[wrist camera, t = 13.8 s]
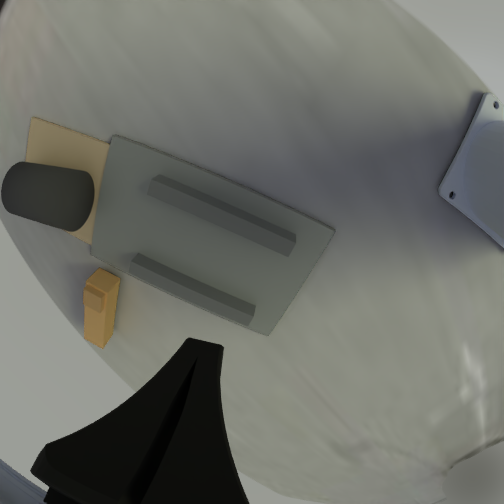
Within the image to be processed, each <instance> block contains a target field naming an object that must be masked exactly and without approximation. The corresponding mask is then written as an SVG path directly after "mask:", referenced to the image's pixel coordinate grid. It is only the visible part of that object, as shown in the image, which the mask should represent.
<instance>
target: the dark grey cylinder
mask: <svg viewBox="0 0 504 504" xmlns="http://www.w3.org/2000/svg"><path fill="white" fill-rule="evenodd" d="M94 195H95V189H94V182H93V179H92V177H91V175H90V174H89V173H88V172H86V171H82V170H76V169H70V168H64V167H57V166H51V165H44V164H37V163H30V162H19V163H16V164H15V165H13V166H12V167H11V168H10V169H9V171H8V172H7V174H6V176H5V178H4V180H3V184H2V190H1V197H2V202H3V205H4V207H5V209H6V210H7V211H8V212H9V213H11V214H15V215H18V216H21V217H24V218H27V219H30V220H33V221H37V222H40V223H43V224H46V225H49V226H53V227H56V228H59V229H63V230H66V231H69V232H74V231H77V230H79V229H80V228H81V227H82V226H83V225H84V224H85V222H86V221H87V219H88V217H89V215H90V213H91V210H92V207H93V202H94Z"/></svg>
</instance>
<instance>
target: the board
mask: <svg viewBox="0 0 504 504" xmlns="http://www.w3.org/2000/svg"><path fill="white" fill-rule="evenodd" d="M25 162H30V163H37V164H44V165H51V166H57V167H64V168H70V169H76V170H82V171H86V172H88V173H89V174H90V175H91V177H92V179H93V182H94V189H95V195H94V202H93V207H92V210H91V213H90V215H89V217H88V219H87V221H86V222H85V224H84V225H83V226H82V227H81V228H80V229H79V230H77V231H74V232H69V231H66V230H64V231H66V232H67V233H69V234H71V235H73V236H75V237H76V238H78V239H80V240H82V241H84V242H86V243H88V244H90V245H91V255H92V256H94V257H96V258H98V259H100V260H101V261H103V262H105V263H107V264H109V265H111V266H113V267H115V268H117V269H119V270H121V271H123V272H125V273H127V274H129V275H131V276H133V277H135V278H137V279H139V280H141V281H143V282H145V283H147V284H149V285H151V286H153V287H155V288H157V289H159V290H162V291H164V292H166V293H168V294H170V295H172V296H174V297H177V298H179V299H181V300H183V301H185V302H187V303H190V304H192V305H194V306H196V307H199V308H201V309H203V310H205V311H208V312H210V313H212V314H215V315H217V316H219V317H222V318H224V319H226V320H229V321H231V322H234V323H236V324H238V325H241V326H243V327H246V328H248V329H251V330H253V331H256V332H258V333H261V334H263V335H266V336H269V335H270V333H271V332H272V330H273V329H274V327H275V326H276V324H277V323H278V321H279V320H280V318H281V317H282V315H283V314H284V312H285V311H286V309H287V308H288V306H289V305H290V303H291V302H292V300H293V299H294V297H295V296H296V294H297V293H298V291H299V289H300V288H301V286H302V285H303V283H304V282H305V280H306V279H307V277H308V275H309V274H310V272H311V271H312V269H313V267H314V266H315V264H316V263H317V261H318V259H319V258H320V256H321V254H322V253H323V251H324V250H325V248H326V246H327V245H328V243H329V241H330V240H331V238H332V236H333V235H334V233H335V229H334V228H332V227H330V226H328V225H326V224H324V223H321V222H319V221H317V220H315V219H313V218H311V217H309V216H307V215H305V214H303V213H301V212H299V211H297V210H295V209H293V208H290V207H288V206H286V205H284V204H282V203H280V202H278V201H275V200H273V199H271V198H269V197H267V196H265V195H262V194H260V193H258V192H256V191H254V190H251V189H249V188H247V187H245V186H242V185H240V184H238V183H236V182H233V181H231V180H229V179H226V178H224V177H222V176H219V175H217V174H215V173H212V172H210V171H208V170H205V169H203V168H200V167H198V166H196V165H193V164H191V163H188V162H186V161H183V160H181V159H179V158H176V157H174V156H171V155H169V154H166V153H164V152H161V151H158V150H156V149H153V148H151V147H148V146H145V145H143V144H140V143H138V142H135V141H132V140H130V139H127V138H124V137H121V136H119V135H113V136H112V139H111V143H110V144H109V143H106V142H103V141H101V140H98V139H95V138H93V137H90V136H87V135H84V134H82V133H79V132H76V131H73V130H71V129H68V128H65V127H62V126H59V125H56V124H53V123H50V122H48V121H45V120H42V119H39V118H36V117H32V118H31V124H30V130H29V137H28V144H27V152H26V161H25ZM62 230H63V229H62Z"/></svg>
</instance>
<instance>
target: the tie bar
mask: <svg viewBox="0 0 504 504" xmlns="http://www.w3.org/2000/svg"><path fill="white" fill-rule="evenodd" d="M119 284H120V278H119V277H117V276H115V275H113V274H111V273H109V272H107V271H105V270H103V269H101V268H98V269H97V270H96V271H95V272H94V273H93V274H92V275H91V276H90V277H89V278H88V279H87V280H86V287H85V288H84V292H83V304H84V305H85V314H84V339H86V340H88V341H90V342H91V343H93V344H95V345H97V346H98V347H100V348H102V349H103V348H104V347H105V345H106V344H107V342H108V341H109V339H110V338H111V336H112V335H113V327H114V319H115V311H116V304H117V297H118V291H119Z"/></svg>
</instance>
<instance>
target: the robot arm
mask: <svg viewBox="0 0 504 504" xmlns="http://www.w3.org/2000/svg"><path fill="white" fill-rule="evenodd" d="M494 102H495V105H496V106H495V108H494V106H493V103H494ZM452 191H453V195H452V197H450V198H449V194H450V192H452ZM438 192H439V195H440V196H441V197H442V198H444V199H445V200H446V201H448V202H449V203H450V204H452V205H453V206H454V207H456V208H457V209H458V210H459V211H461V212H462V213H463V214H464V215H466V216H467V217H468V218H469V219H471V220H472V221H473V222H474V223H475V224H477V225H478V226H479V227H480V228H481V229H483V230H484V231H485V232H486V233H487V234H488V235H489V236H491V237H492V238H493V239H494V240H495V241H496V242H497V243H498V244H499V245H501V246H502V247H503V248H504V105H503V104H502V103H501V102H500V101H499V100H498V99H497V98H496V97H495V96H494V95H493V94H492V93H487V92H486V93H484V95H483V97H482V99H481V102H480V104H479V107H478V109H477V111H476V114H475V116H474V118H473V120H472V123H471V125H470V127H469V129H468V131H467V133H466V135H465V138H464V140H463V142H462V144H461V146H460V148H459V150H458V152H457V154H456V156H455V158H454V160H453V162H452V164H451V165H450V167H449V169H448V171H447V173H446V175H445V177H444V178H443V180H442V182H441V184H440V186H439V188H438ZM223 351H224V347H223V346H222V345H220V344H215V343H211V342H206V341H202V340H198V339H194V338H187V339H186V340H185V342H184V343H183V344H182V346H181V347H180V348H179V349H178V351H177V352H176V353H175V354H174V355H173V356H172V358H171V359H170V360H169V361H168V362H167V363H166V364H165V365H164V366H163V367H162V368H161V369H160V370H159V372H158V373H157V374H156V375H155V376H154V377H153V378H152V379H150V380H149V381H148V382H147V383H146V384H145V385H144V386H143V387H142V388H141V389H140V390H138V391H137V392H136V393H135V394H134V395H133V396H131V397H130V398H129V399H128V400H126V401H125V402H124V403H123V404H121V405H120V406H118V407H117V408H116V409H114V410H113V411H111V412H110V413H108V414H107V415H105V416H104V417H102V418H100V419H99V420H97V421H95V422H94V423H92V424H90V425H88V426H86V427H84V428H82V429H80V430H78V431H77V432H74V433H72V434H70V435H68V436H65V437H63V438H61V439H58V440H56V441H53V442H50V443H48V444H46V445H45V447H44V448H43V449H42V451H41V452H40V453H39V455H38V457H37V459H36V461H35V462H34V464H33V466H32V468H31V470H30V471H31V473H32V474H33V475H34V476H35V477H37V478H38V479H39V480H41V481H42V482H43V483H45V484H46V485H48V486H49V489H48V492H46V491H44V490H42V489H41V488H40V487H38V486H37V485H35V484H34V483H32V482H31V481H29V480H28V479H26V478H25V477H24V476H22V475H21V474H19V473H18V472H17V471H15V470H14V469H12V468H11V467H10V466H9V465H7V464H6V463H5V462H4V461H2V460H1V459H0V504H249V502H248V499H247V497H246V494H245V492H244V489H243V487H242V485H241V482H240V479H239V476H238V473H237V470H236V467H235V464H234V460H233V457H232V454H231V450H230V446H229V442H228V438H227V433H226V429H225V423H224V417H223V410H222V402H221V388H220V376H221V367H222V359H223Z"/></svg>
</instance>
